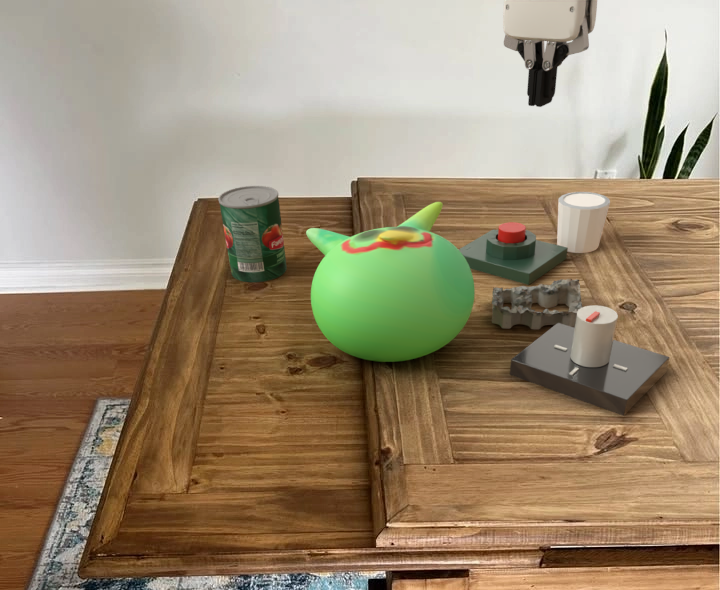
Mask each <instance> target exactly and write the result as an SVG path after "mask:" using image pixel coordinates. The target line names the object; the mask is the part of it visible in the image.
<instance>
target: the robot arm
mask: <svg viewBox="0 0 720 590" xmlns="http://www.w3.org/2000/svg"><path fill="white" fill-rule="evenodd" d="M597 10H598V0H503V12H502V13H503V14H502V28H503V32H504V39H503V46H504V47H505V48H507V49H510V50H512V51H515V52H518V54H519V55H520V57H521V58H522V60H523V61H524V67H525V69H526V70H528V74H527V75H528V77H527V89H526V90H527V91H526V94H527V96H528V103H527V104H528V106H530V107H534V106H536V107H538V108H542V107H544V106H547V105H548V104H550V103H551V102H552V101H553V98H554V96H555V93H556V87H557V86H556V85H557V77H558V67H560V66H561V65H562V64H563V62H564V61H565V60H566V59H567V58H568V57H569V56H570V55H571V56H572V55H575V54H579V53H583V52H585V51H587V50H589V47H590V42H589V41H590V40H589V34H591V33H593V31H594V29H595V26H596V19H597ZM545 42H546V44H545Z"/></svg>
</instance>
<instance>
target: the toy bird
mask: <svg viewBox="0 0 720 590" xmlns="http://www.w3.org/2000/svg"><path fill="white" fill-rule="evenodd" d="M443 205H444V203H443V202H441V201H435V202H432V203H430V204H428V205H427V206H425V207H424V208H422V209H420V210H419V211H417V212H416V213H414V214H413V215H412V216H410V217H409V218H408V219H406V220H405V221H403V222H402V223H400V224H398V225H397V226H387V227H385V226H384V227H380V228H374V229H369V230H366V231H362V232H360V233H357V234H354V235H351V236H349V235H345V234H342V233H338V232H335V231H332V230H327V229H324V228H319V227H310V228H308V229H307V230H306V232H305V234H306V236H307V239H308V240H309V241H310V242H311V243H312V244H313V246H315V247H316V248H317V249H318V250H319V251H320V252H321V254H322V255H324V257H323V258H322V259H321V260H320V263H319V264H318V266H317V268H316V270H315V272H314V275H313V277H312V282H311V286H310V287H311V288H310V304H311V310H312V314H313V318H314V320H315V322H316V325H317V326H318V328H319V330H320V332H321V333H322V334H323V336H324V337H325V338H326V340H328V341H329V342H330V343H331V345H333V346H334V347H335V348H338V350H340V351H342V352H344V353H346V354H347V355H350V356H352V357H355V358H357V359H362V360H365V361H371V362H372V361H373V362H378V363H379V362H380V363H395V362H405V361H411V360H413V359H414V360H415V359H418V358H421V357H424V356H427V355H430V354H432V353H435V352H436V351H438V350H440V349H442V348H444V347H445V346H446V345H448V344H450V343H451V342H452V341H453V340H454V339H455V338H456V337H457V336H458V335H459V334H460V333H461V331H463V329H464V327H465V326H466V324H467V322H469V321H468V320H469V319H470V317H471V313H472V311H473V308H474V304H475V294H476V293H475V292H476V291H475V289H476V288H475V281H474V276H473V272H472V269H471V268H470V267H469V265H468V263H467V261H466V259H465V257H464V256H463V255H462V253H461V252H460V251H459V250H458V249H459V248H457V246H455V244H453V243H452V242H451V241H449V240H448V239H447V238H445V237H443V236H441V235H439V234H437V233H434V232H432V231H431V230H432V228H433V226H434V225H435V223H436V221H437V219H438V218H439V216H440V214H441V212H442V209H443V207H444V206H443Z"/></svg>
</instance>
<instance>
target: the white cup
mask: <svg viewBox="0 0 720 590" xmlns="http://www.w3.org/2000/svg"><path fill="white" fill-rule="evenodd" d="M557 202H558V203H557V204H558V206H557V229H556V230H557V233H556V234H557V235H556V236H557V237H556V245H559V246H563V247H567V248H568V250H567V253H573V254H586V253H591V252H594V251H597V250H598V248H599V246H600V242H601V239H602V235H603V231H604V227H605V224H606V219H607V217H608V212H609V208H610V205H611V200H610V198H609V197H607V196H606V195H604V194H601V193H598V192H591V191H573V192H567V193H565V194H562V195H560V197H558V201H557Z"/></svg>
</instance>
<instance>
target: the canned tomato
mask: <svg viewBox="0 0 720 590" xmlns="http://www.w3.org/2000/svg"><path fill="white" fill-rule="evenodd" d="M217 199H218V203H219V208H220V215H221V221H222V227H223V232H224V238H225V244H226V250H227V255H228V262H229V267H230V272H231V273H230V274H231V276H232V278H233V279H235V280H237V281H240V282H245V283H264V282H269V281H272V280H275V279H278V278H280V277H281V276H283V275H284V274H285V273H286V271H287V270H288V269H287V268H288V267H287V257H286V250H285V240H284V233H283V223H282V216H281V209H280V208H281V206H280V200H279V199H280V198H279V191H278V190H276V189H275V188H273V187H270V186H266V185H246V186H240V187H234V188H232V189H229V190H226V191H224V192H223V193H221V194H220V195H219V196H218V198H217Z"/></svg>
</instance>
